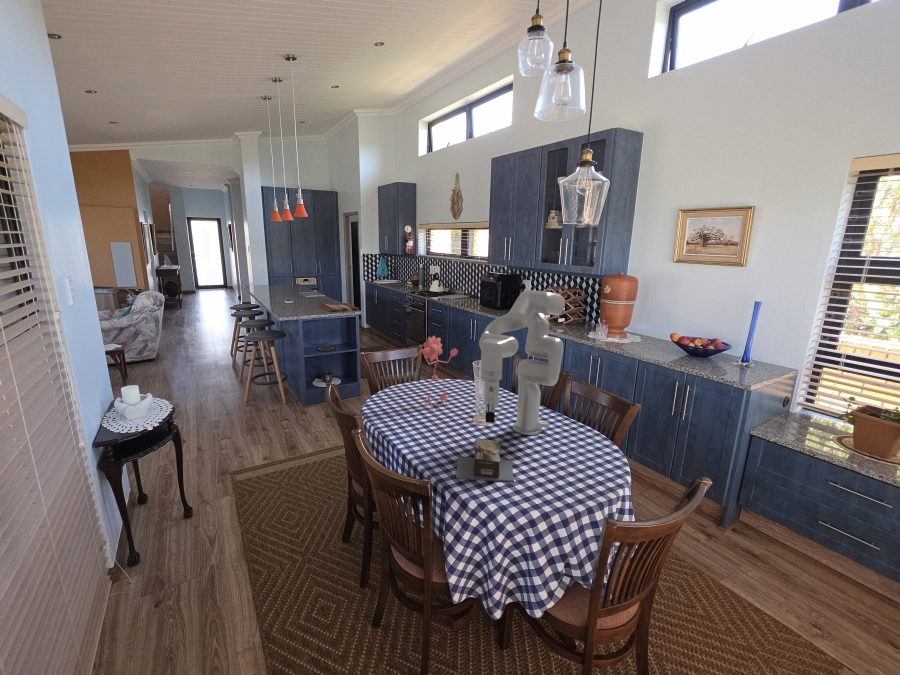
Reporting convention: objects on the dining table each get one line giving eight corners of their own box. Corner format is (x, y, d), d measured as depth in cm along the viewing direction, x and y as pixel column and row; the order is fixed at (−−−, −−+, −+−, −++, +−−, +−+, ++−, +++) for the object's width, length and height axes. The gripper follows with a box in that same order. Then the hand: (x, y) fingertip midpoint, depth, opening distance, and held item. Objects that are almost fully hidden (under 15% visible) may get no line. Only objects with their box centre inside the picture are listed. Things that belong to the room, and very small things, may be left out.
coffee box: (474, 454, 168) (472, 476, 152) (475, 439, 167) (473, 459, 151) (498, 456, 167) (498, 478, 152) (499, 440, 166) (499, 461, 150)
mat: (511, 461, 164) (511, 460, 164) (513, 481, 151) (514, 480, 150) (457, 458, 165) (457, 457, 165) (455, 478, 152) (455, 477, 152)
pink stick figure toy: (461, 402, 223) (461, 335, 215) (420, 414, 206) (419, 342, 199) (441, 394, 234) (441, 330, 227) (401, 405, 218) (400, 336, 210)
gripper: (503, 381, 148) (501, 431, 152) (501, 367, 162) (499, 413, 167) (480, 380, 148) (479, 430, 153) (480, 367, 163) (479, 412, 167)
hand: (489, 421), depth 160 cm, fingers closed
